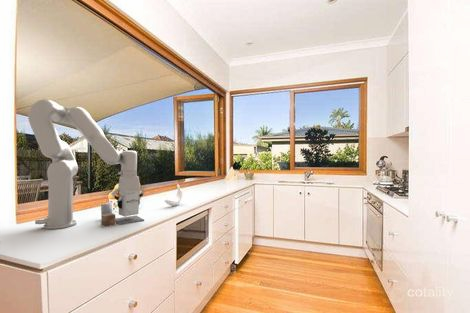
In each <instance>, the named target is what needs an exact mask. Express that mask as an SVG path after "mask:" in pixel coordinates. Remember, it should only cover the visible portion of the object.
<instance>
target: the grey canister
mask: <svg viewBox="0 0 470 313" xmlns="http://www.w3.org/2000/svg"><path fill="white" fill-rule="evenodd" d="M112 204H113V203H112V202H105V203H101V204H100V210H101V211H100V212H101V214H100V216H102V214H108V213H113V207H112V206H113V205H112Z"/></svg>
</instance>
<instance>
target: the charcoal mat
mask: <svg viewBox="0 0 470 313" xmlns="http://www.w3.org/2000/svg"><path fill="white" fill-rule="evenodd" d="M138 221H140V222H145V219H144V218H142V217H140V216H138V214H136V215H130V216H126V217H125V216H122V217H115V224H118V225H127V224H132V223H133V222H134V223H138Z"/></svg>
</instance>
